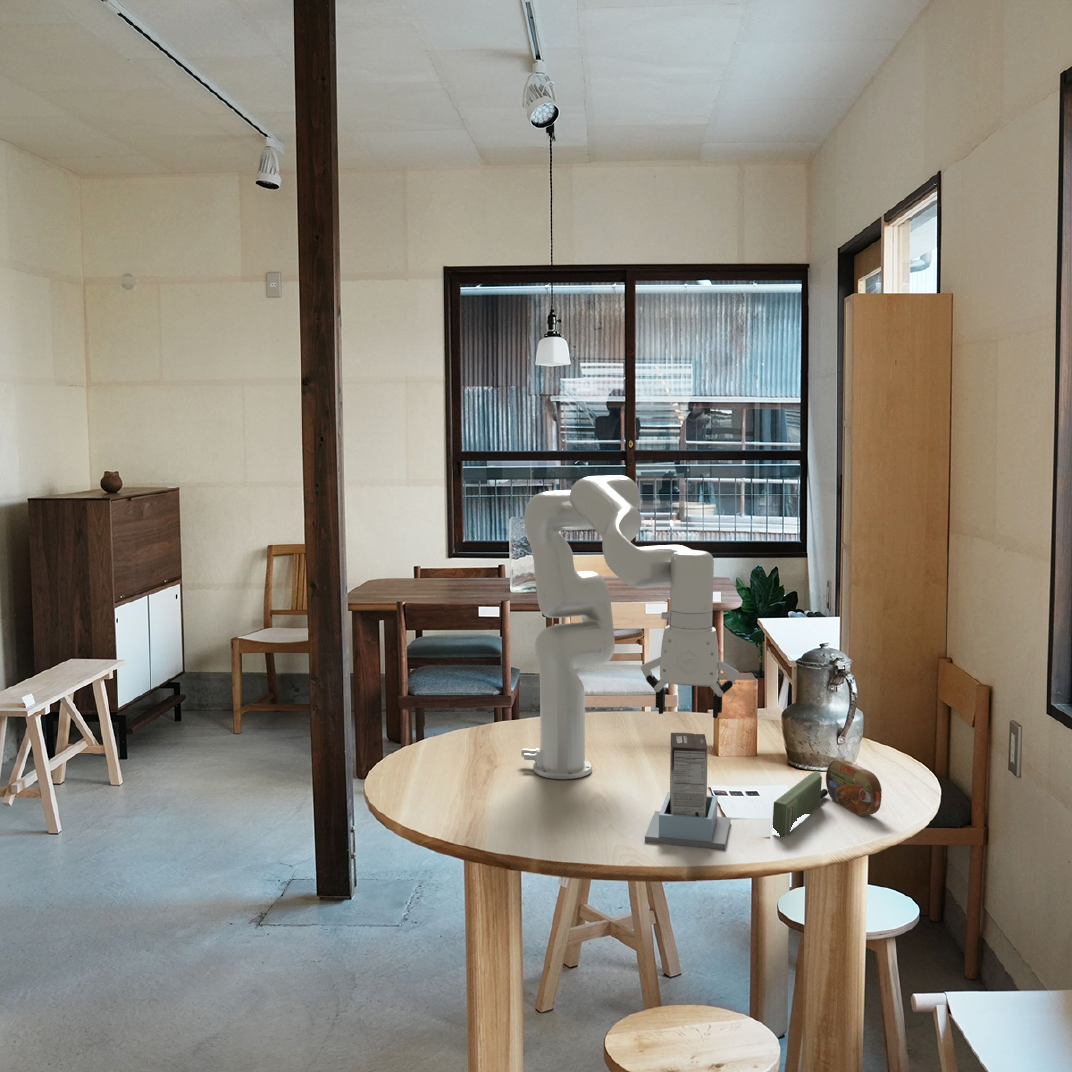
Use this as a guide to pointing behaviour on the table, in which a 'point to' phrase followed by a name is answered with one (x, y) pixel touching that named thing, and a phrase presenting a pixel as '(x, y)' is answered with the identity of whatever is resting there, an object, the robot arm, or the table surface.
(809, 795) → the handheld radio
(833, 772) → the tin
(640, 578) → the robot arm
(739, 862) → the table surface
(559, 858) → the table surface
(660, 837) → the light blue open box
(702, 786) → the coffee box
